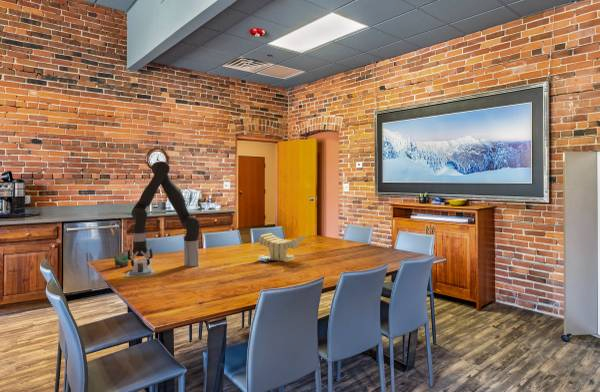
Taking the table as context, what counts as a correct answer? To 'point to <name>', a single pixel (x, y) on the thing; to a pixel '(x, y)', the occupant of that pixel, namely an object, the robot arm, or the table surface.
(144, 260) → the bowl
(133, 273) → the lid
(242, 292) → the table surface
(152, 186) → the robot arm
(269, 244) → the slatted curved stool
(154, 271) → the mat
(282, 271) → the table surface
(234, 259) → the table surface
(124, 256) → the food container
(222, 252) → the table surface
